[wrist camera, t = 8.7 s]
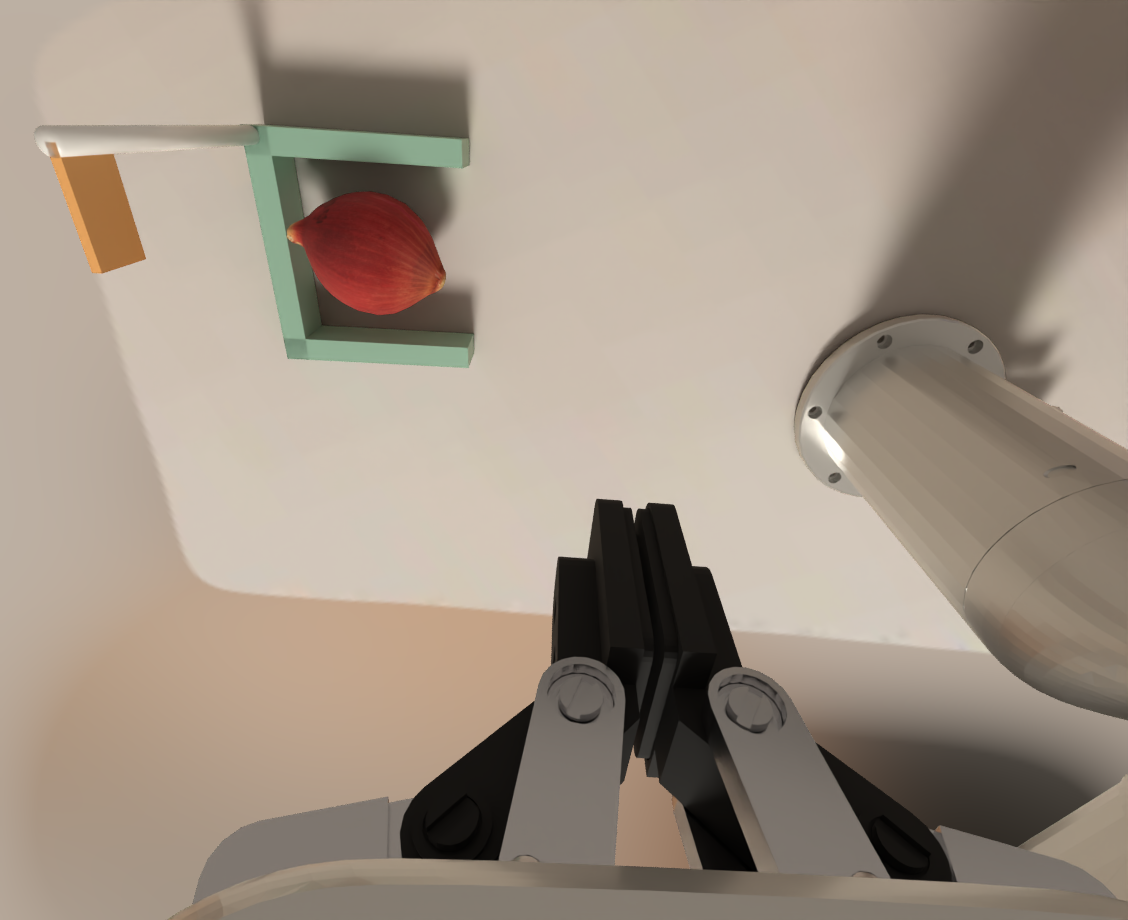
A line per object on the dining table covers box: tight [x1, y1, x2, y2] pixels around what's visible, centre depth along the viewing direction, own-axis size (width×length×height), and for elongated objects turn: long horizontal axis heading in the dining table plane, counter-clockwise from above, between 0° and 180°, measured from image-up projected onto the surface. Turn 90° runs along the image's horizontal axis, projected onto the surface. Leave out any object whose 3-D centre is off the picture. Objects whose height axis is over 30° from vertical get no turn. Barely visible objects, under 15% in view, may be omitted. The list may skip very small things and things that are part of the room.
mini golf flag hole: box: [34, 124, 474, 368], centre depth 25 cm, size 10×11×14 cm
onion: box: [287, 191, 446, 315], centre depth 28 cm, size 6×6×8 cm
